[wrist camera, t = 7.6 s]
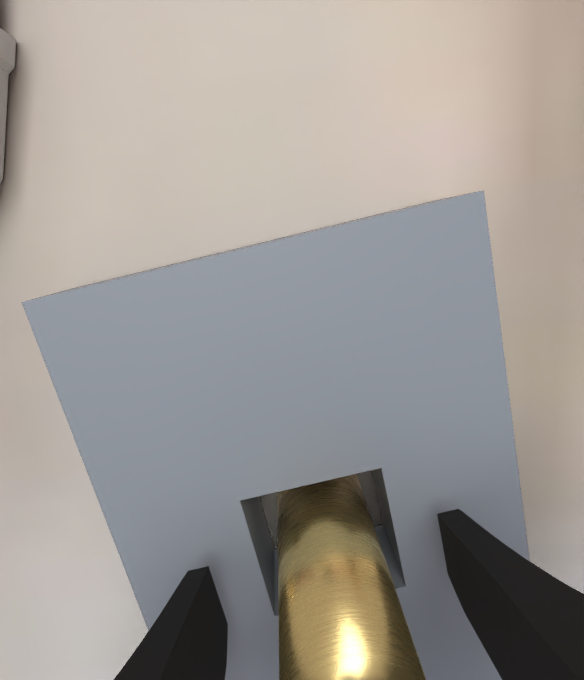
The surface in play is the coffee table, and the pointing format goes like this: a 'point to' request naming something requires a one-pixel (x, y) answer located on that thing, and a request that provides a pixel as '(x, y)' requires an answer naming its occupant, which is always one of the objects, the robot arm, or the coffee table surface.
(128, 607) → the coffee table surface
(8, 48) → the walkie-talkie
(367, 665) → the tall pin
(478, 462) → the grey flat block
